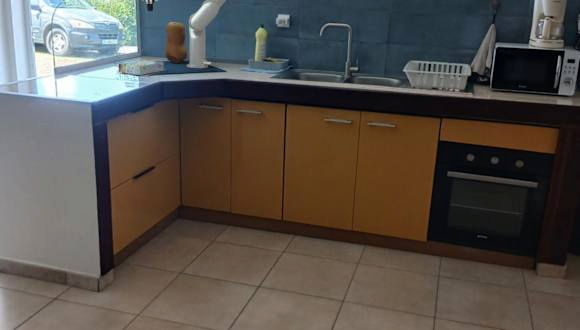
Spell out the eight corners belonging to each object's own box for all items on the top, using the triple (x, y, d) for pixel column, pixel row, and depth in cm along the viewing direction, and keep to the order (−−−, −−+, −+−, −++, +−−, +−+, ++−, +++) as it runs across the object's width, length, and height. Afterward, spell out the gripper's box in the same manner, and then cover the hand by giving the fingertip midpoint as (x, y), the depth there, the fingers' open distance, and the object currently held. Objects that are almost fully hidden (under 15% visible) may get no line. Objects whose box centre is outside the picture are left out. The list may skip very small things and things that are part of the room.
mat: (167, 70, 346) (167, 69, 346) (148, 76, 324) (148, 75, 323) (145, 68, 349) (145, 67, 349) (124, 74, 327) (124, 73, 327)
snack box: (118, 73, 329) (140, 75, 323) (117, 62, 327) (140, 65, 321) (142, 68, 347) (164, 70, 341) (142, 58, 345) (164, 60, 339)
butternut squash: (190, 62, 380) (189, 21, 372) (183, 65, 367) (183, 23, 360) (168, 60, 382) (168, 20, 374) (161, 63, 369) (160, 22, 361)
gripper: (164, -22, 343) (165, 11, 348) (140, -23, 346) (141, 10, 352) (158, -22, 336) (159, 12, 341) (134, -23, 339) (135, 10, 345)
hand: (150, 11), depth 347 cm, fingers closed
